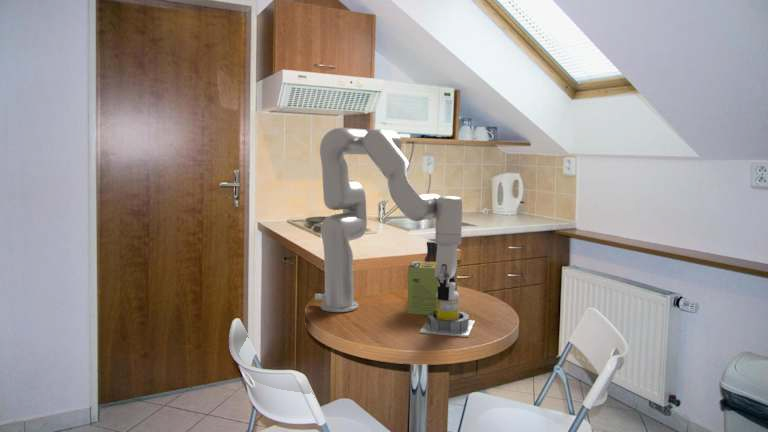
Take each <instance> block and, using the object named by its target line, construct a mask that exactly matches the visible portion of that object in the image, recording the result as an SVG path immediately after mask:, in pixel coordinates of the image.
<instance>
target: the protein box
mask: <svg viewBox="0 0 768 432" xmlns="http://www.w3.org/2000/svg"><path fill="white" fill-rule="evenodd" d="M435 267H436V262H425V261H412V262H411V263H410V264H409V266H408V267H407V314H408V315H423V316H424V315H425V316H427V315H428V314H429V313H430V312H433V311H436V295H437V293H438V282H439V277H438V278H436V277H435ZM454 279H455V284H456V288H455V291H456V292H458V266H457V267H456V273H455V278H454Z"/></svg>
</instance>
